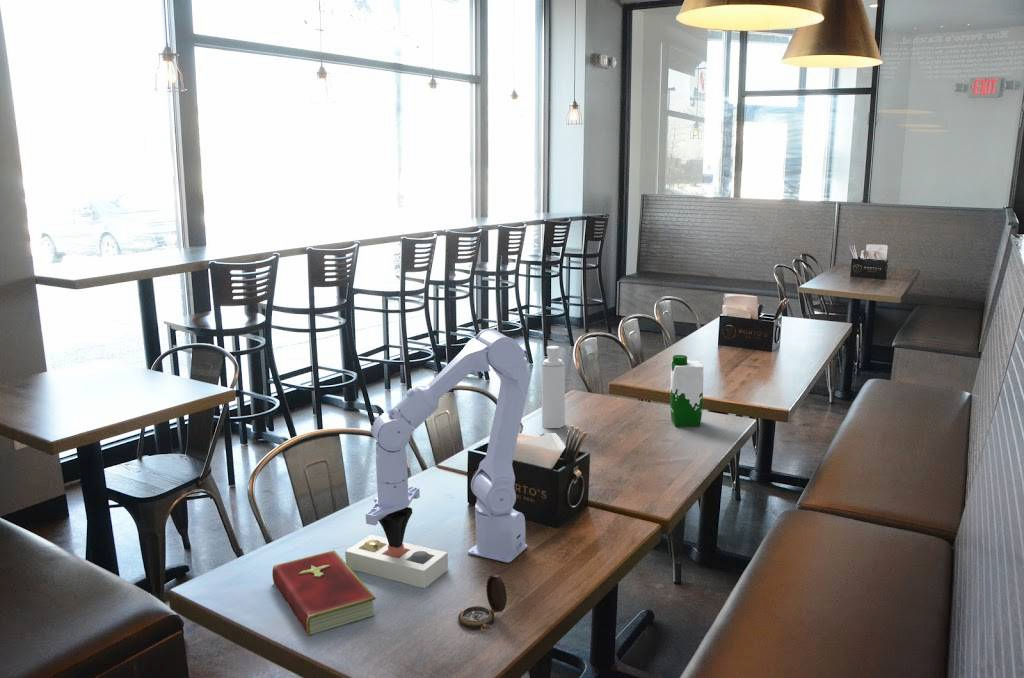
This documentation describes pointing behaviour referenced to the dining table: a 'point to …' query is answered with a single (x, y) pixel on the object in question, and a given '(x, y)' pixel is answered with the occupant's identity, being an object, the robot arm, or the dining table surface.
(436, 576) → the socket board
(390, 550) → the red plug
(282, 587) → the hardcover book
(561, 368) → the white bottle
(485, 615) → the compass
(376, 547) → the brass plug
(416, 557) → the gray plug
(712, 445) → the dining table surface
